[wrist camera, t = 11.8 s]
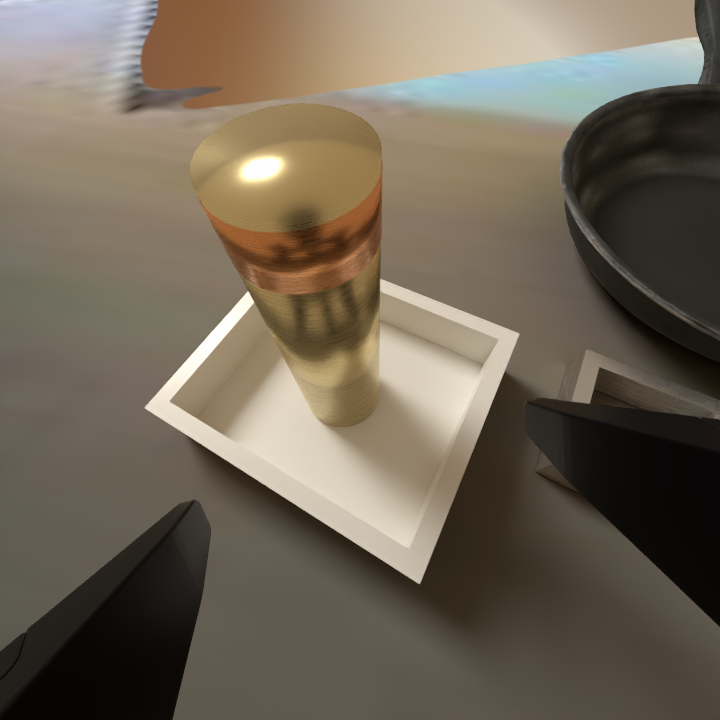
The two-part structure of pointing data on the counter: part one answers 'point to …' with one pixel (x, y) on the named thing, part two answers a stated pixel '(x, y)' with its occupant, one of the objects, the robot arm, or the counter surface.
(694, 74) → the counter surface
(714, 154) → the frying pan
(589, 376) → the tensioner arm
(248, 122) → the pin
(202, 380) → the parts tray
